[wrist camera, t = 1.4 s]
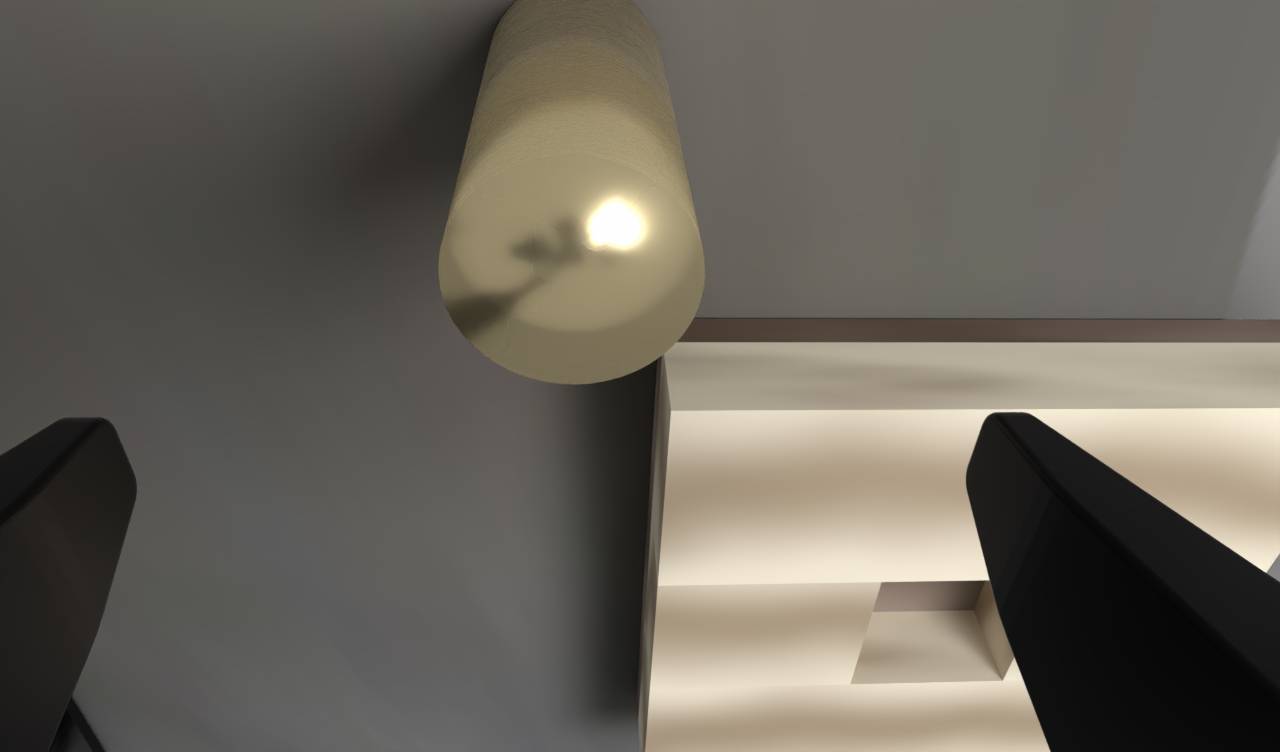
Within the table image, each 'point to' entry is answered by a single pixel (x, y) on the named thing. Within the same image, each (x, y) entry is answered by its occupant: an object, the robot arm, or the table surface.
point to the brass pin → (572, 199)
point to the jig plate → (904, 512)
